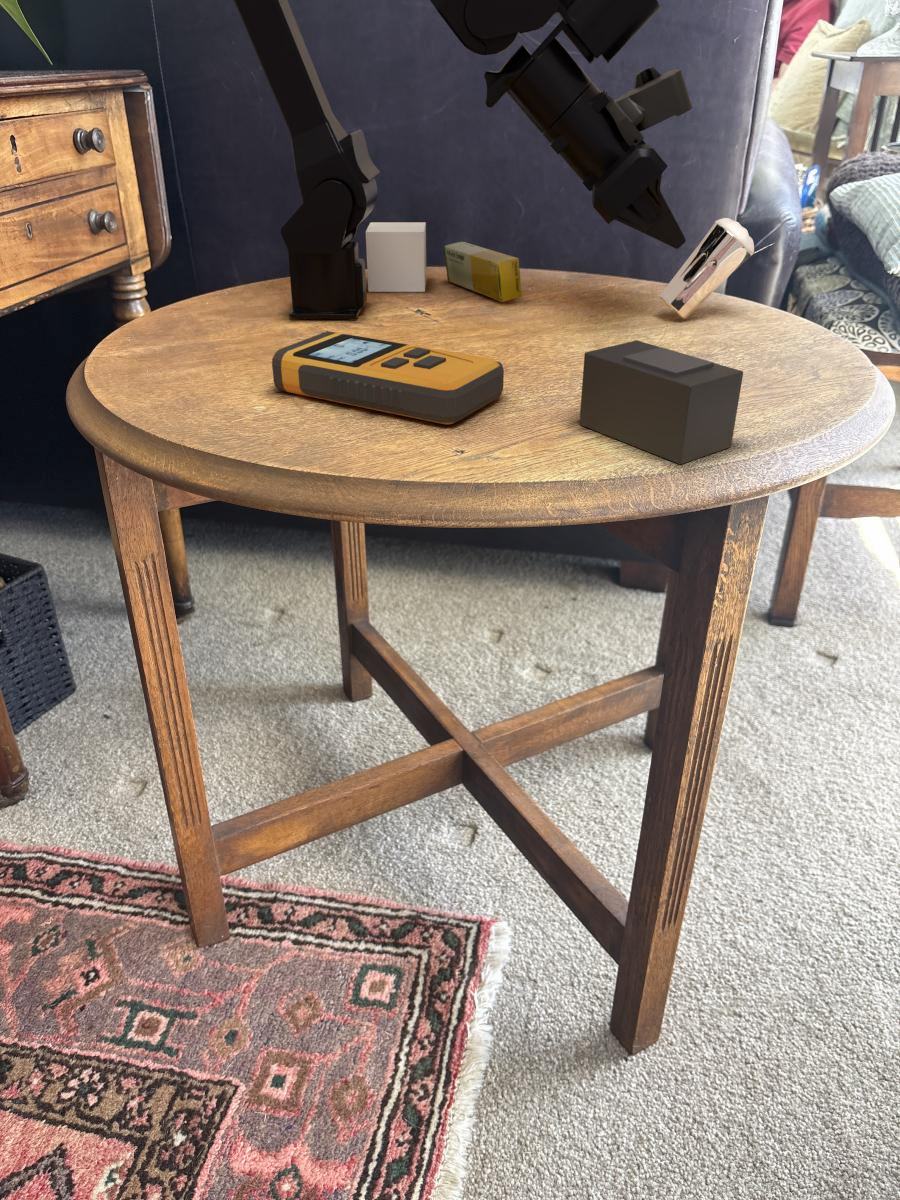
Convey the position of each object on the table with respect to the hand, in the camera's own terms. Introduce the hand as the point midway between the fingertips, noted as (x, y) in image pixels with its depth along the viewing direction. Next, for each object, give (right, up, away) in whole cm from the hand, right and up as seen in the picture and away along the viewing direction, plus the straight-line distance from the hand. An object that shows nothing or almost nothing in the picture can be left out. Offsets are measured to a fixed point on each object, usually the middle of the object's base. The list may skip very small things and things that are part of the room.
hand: (681, 244), depth 86 cm
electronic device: (-26, -18, -16) cm, 35 cm away
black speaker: (-10, -18, -21) cm, 29 cm away
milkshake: (0, -5, +3) cm, 6 cm away
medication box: (-18, 0, +13) cm, 22 cm away
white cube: (-27, +1, +16) cm, 31 cm away
